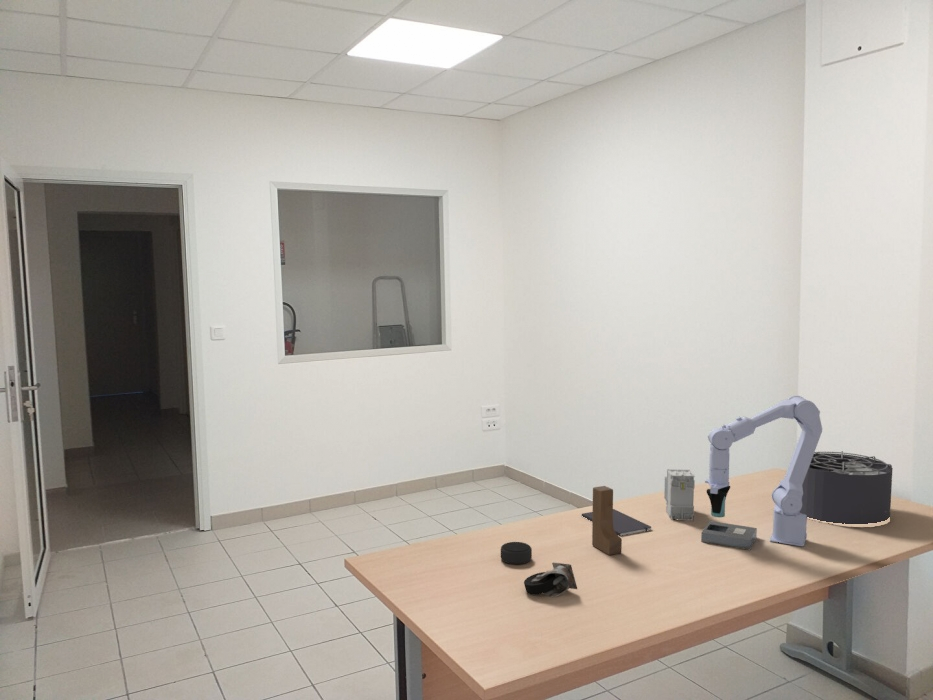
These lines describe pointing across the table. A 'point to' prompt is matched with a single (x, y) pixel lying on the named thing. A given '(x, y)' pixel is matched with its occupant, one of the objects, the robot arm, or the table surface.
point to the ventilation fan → (847, 489)
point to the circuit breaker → (679, 494)
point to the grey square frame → (729, 535)
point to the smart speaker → (516, 553)
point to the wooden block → (604, 522)
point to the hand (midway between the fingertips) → (717, 510)
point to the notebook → (623, 523)
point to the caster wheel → (551, 581)
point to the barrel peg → (721, 510)
